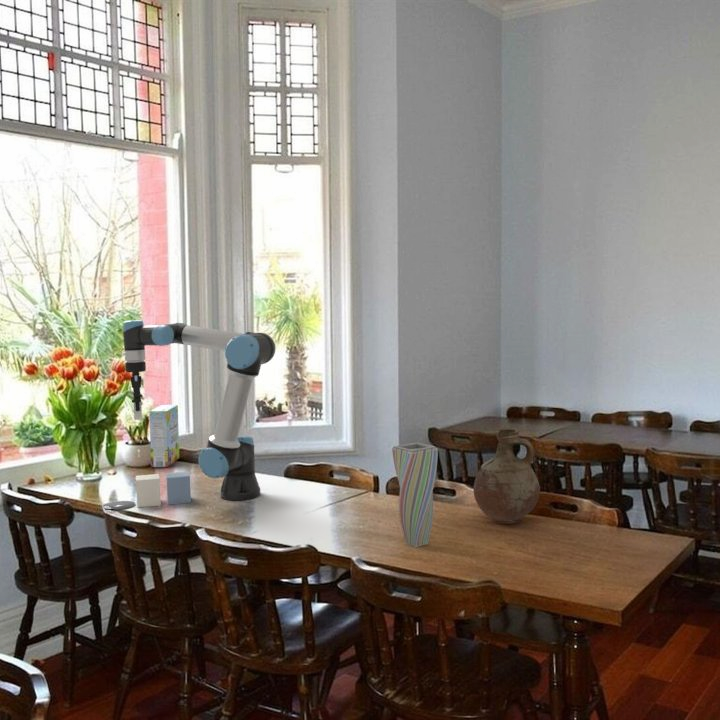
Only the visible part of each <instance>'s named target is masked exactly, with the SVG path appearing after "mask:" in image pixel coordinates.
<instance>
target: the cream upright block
mask: <svg viewBox="0 0 720 720" xmlns="http://www.w3.org/2000/svg"><path fill="white" fill-rule="evenodd" d="M160 481H161V480H160V474H159V473H156V474H155V473H153V474H141V475H135V489H136V505H137V508H146V507H155V506H156V507H157V506H161V503H162V502H161V485H160Z"/></svg>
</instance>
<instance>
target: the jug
mask: <svg viewBox="0 0 720 720" xmlns="http://www.w3.org/2000/svg"><path fill="white" fill-rule="evenodd" d="M519 433H520V432H519V430H518V429H515V428H502V429H499V431H498V432H497V433H496V435H495V436H496V438H497V439H496V440H497V441H498V443H497V446H496V451H495V455H494V456H492V457H491V458H490V459H488V460H487V461H485V462H484V463H482V465H480V468H479V470H478V472H477V474H476V476H475V479H474V483H473V497H474V500H475V502H476V504H477V506H478V509H480V510H481V511H482V513H484V514H485V515H486V516H487V517H489V518H491V521H492V522H493V523H494V524H500V525H511V524H512V525H513V524H514V525H515V524H517V523H520V522H521V521H522V518H524V517H526V516H527V515H529V514H530V513H531V512H532V511H533V509H534V508H536V506H537V504H538V501H539V500H540V494H541V487H540V483H539V480H538V477H537V475H536V473H535V472H534V469H533V468H532V462H533V460H534V456H535V448H534V445H533V444H532V443H531V441H529V440H528V439H526V438H520V435H519ZM516 445H519V446H520V445H521V446H523V447H524V448H526V455H525V456H524V457H523V458H520V457H518V456H517V455H515V453H514V449H513V446H516Z"/></svg>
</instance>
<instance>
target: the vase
mask: <svg viewBox="0 0 720 720" xmlns="http://www.w3.org/2000/svg"><path fill="white" fill-rule="evenodd" d="M391 452H392V453H391V454H392V459H393V464H394V469H395V474H396V479H397V481H398V485H399V497H398V516H399V523H400V526H401V530H402V533H403V534H402V535H403V537H404V541H405V542H404V543H405V544H406V545H409V546H412V547H414V548H417V547H422V546H425V545H429V541H430V540H429V539H430V536H431V531H432V525H433V518H434V496H433V495H434V494H433V489H434V486H435V481H436V477H437V475H436V474H437V466H438V458H439V457H438V452H439V448H438V447H437V446H435V445H432V444H431V445H430V444H427V443H426V444H425V443H422V442H412V443H411V442H410V443H405V444H400V445H394V446H392V447H391Z"/></svg>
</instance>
